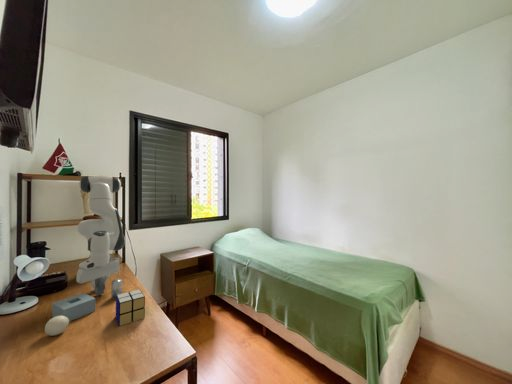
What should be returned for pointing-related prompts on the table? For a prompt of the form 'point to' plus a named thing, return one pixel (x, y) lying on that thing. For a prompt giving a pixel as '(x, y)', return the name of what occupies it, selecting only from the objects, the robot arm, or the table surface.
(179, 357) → the table surface
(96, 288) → the square bit
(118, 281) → the round bit
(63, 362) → the table surface
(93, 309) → the socket block
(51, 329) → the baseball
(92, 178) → the robot arm
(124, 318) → the puzzle cube
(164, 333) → the table surface
